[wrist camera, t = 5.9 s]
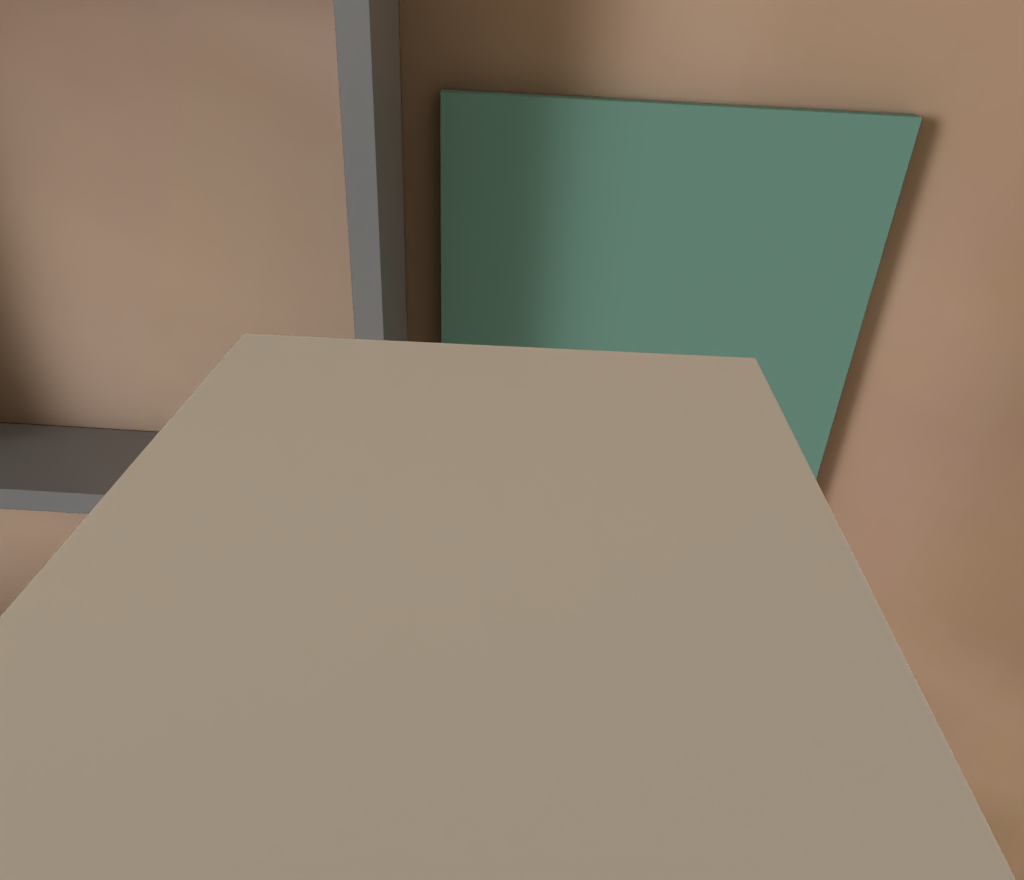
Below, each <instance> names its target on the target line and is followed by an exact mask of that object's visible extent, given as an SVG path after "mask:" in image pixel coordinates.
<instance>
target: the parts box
mask: <svg viewBox="0 0 1024 880" xmlns="http://www.w3.org/2000/svg"><path fill="white" fill-rule="evenodd" d="M0 880H1016V879H1015V877H1014V875H1013V873H1012V871H1011V869H1010V867H1009V865H1008V863H1007V861H1006V859H1005V857H1004V855H1003V853H1002V851H1001V849H1000V847H999V845H998V843H997V841H996V839H995V837H994V835H993V833H992V831H991V829H990V827H989V825H988V823H987V821H986V819H985V817H984V815H983V813H982V811H981V809H980V807H979V805H978V803H977V801H976V799H975V797H974V795H973V793H972V791H971V789H970V787H969V785H968V783H967V781H966V779H965V777H964V775H963V773H962V771H961V769H960V767H959V765H958V763H957V761H956V759H955V757H954V755H953V753H952V751H951V749H950V747H949V745H948V743H947V741H946V739H945V737H944V735H943V733H942V731H941V729H940V727H939V725H938V723H937V721H936V719H935V717H934V715H933V713H932V711H931V709H930V707H929V705H928V703H927V701H926V699H925V697H924V695H923V693H922V691H921V689H920V687H919V685H918V683H917V681H916V679H915V677H914V675H913V673H912V671H911V669H910V667H909V665H908V663H907V661H906V659H905V657H904V655H903V653H902V651H901V649H900V647H899V645H898V643H897V641H896V639H895V637H894V635H893V633H892V631H891V629H890V627H889V625H888V623H887V621H886V619H885V617H884V615H883V613H882V611H881V609H880V607H879V605H878V603H877V601H876V599H875V597H874V595H873V593H872V591H871V589H870V587H869V585H868V583H867V581H866V579H865V577H864V575H863V573H862V571H861V569H860V567H859V565H858V563H857V561H856V559H855V557H854V555H853V553H852V551H851V549H850V547H849V545H848V543H847V541H846V539H845V537H844V535H843V533H842V531H841V529H840V527H839V525H838V523H837V521H836V519H835V517H834V515H833V513H832V511H831V509H830V507H829V505H828V503H827V501H826V499H825V497H824V495H823V493H822V491H821V489H820V487H819V485H818V483H817V481H816V479H815V477H814V475H813V473H812V471H811V469H810V467H809V465H808V463H807V461H806V459H805V457H804V455H803V453H802V451H801V449H800V447H799V445H798V443H797V441H796V439H795V437H794V435H793V433H792V431H791V429H790V427H789V425H788V423H787V421H786V419H785V416H784V414H783V412H782V410H781V408H780V406H779V404H778V402H777V400H776V398H775V396H774V394H773V392H772V390H771V388H770V386H769V384H768V382H767V380H766V378H765V376H764V374H763V372H762V370H761V368H760V366H759V364H758V362H757V360H756V358H745V357H724V356H703V355H682V354H661V353H640V352H619V351H598V350H577V349H556V348H535V347H514V346H493V345H472V344H451V343H430V342H409V341H388V340H367V339H346V338H325V337H304V336H283V335H262V334H243V335H242V336H241V337H240V338H239V339H238V341H237V342H236V343H235V344H234V345H233V346H232V348H231V349H230V350H229V351H228V352H227V353H226V355H225V356H224V357H223V358H222V359H221V360H220V362H219V363H218V364H217V365H216V366H215V367H214V369H213V370H212V371H211V372H210V373H209V374H208V376H207V377H206V378H205V379H204V380H203V381H202V383H201V384H200V385H199V386H198V387H197V388H196V390H195V391H194V392H193V393H192V394H191V395H190V396H189V398H188V399H187V400H186V401H185V402H184V403H183V405H182V406H181V407H180V408H179V409H178V410H177V412H176V413H175V414H174V415H173V416H172V417H171V419H170V420H169V421H168V422H167V423H166V424H165V426H164V427H163V428H162V429H161V430H160V431H159V433H158V434H157V435H156V436H155V437H154V438H153V440H152V441H151V442H150V443H149V444H148V445H147V447H146V448H145V449H144V450H143V451H142V452H141V454H140V455H139V456H138V457H137V458H136V459H135V460H134V462H133V463H132V464H131V465H130V466H129V467H128V469H127V470H126V471H125V472H124V473H123V474H122V476H121V477H120V478H119V479H118V480H117V481H116V483H115V484H114V485H113V486H112V487H111V488H110V490H109V491H108V492H107V493H106V494H105V495H104V497H103V498H102V499H101V500H100V501H99V502H98V504H97V505H96V506H95V507H94V508H93V509H92V511H91V512H90V513H89V514H88V515H87V516H86V518H85V519H84V520H83V521H82V522H81V523H80V525H79V526H78V527H77V528H76V529H75V530H74V531H73V533H72V534H71V535H70V536H69V537H68V538H67V540H66V541H65V542H64V543H63V544H62V545H61V547H60V548H59V549H58V550H57V551H56V552H55V554H54V555H53V556H52V557H51V558H50V559H49V561H48V562H47V563H46V564H45V565H44V566H43V568H42V569H41V570H40V571H39V572H38V573H37V575H36V576H35V577H34V578H33V579H32V580H31V582H30V583H29V584H28V585H27V586H26V587H25V589H24V590H23V591H22V592H21V593H20V594H19V595H18V597H17V598H16V599H15V600H14V601H13V602H12V604H11V605H10V606H9V607H8V608H7V609H6V611H5V612H4V613H3V614H2V615H1V616H0Z"/></svg>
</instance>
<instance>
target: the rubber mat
mask: <svg viewBox="0 0 1024 880" xmlns="http://www.w3.org/2000/svg"><path fill="white" fill-rule="evenodd" d="M921 120H922V117H920V116H917V115H915V114H898V113H879V112H860V111H841V110H823V109H804V108H785V107H766V106H747V105H728V104H710V103H691V102H672V101H653V100H634V99H615V98H597V97H578V96H559V95H540V94H521V93H502V92H484V91H465V90H446V89H443V90H442V91H441V343H451V344H472V345H493V346H514V347H535V348H556V349H577V350H598V351H619V352H640V353H661V354H682V355H703V356H724V357H745V358H756V360H757V362H758V364H759V366H760V368H761V370H762V372H763V374H764V376H765V378H766V380H767V382H768V384H769V386H770V388H771V390H772V392H773V394H774V396H775V398H776V400H777V402H778V404H779V406H780V408H781V410H782V412H783V414H784V416H785V419H786V421H787V423H788V425H789V427H790V429H791V431H792V433H793V435H794V437H795V439H796V441H797V443H798V445H799V447H800V449H801V451H802V453H803V455H804V457H805V459H806V461H807V463H808V465H809V467H810V469H811V471H812V473H813V475H814V477H815V479H816V478H817V475H818V471H819V468H820V465H821V461H822V458H823V454H824V451H825V448H826V444H827V441H828V437H829V434H830V431H831V427H832V424H833V420H834V417H835V413H836V410H837V407H838V403H839V400H840V396H841V393H842V390H843V386H844V383H845V379H846V376H847V373H848V369H849V366H850V362H851V359H852V355H853V352H854V349H855V345H856V342H857V338H858V335H859V332H860V328H861V325H862V321H863V318H864V315H865V311H866V308H867V304H868V301H869V298H870V294H871V291H872V287H873V284H874V280H875V277H876V274H877V270H878V267H879V263H880V260H881V257H882V253H883V250H884V246H885V243H886V240H887V236H888V233H889V229H890V226H891V222H892V219H893V216H894V212H895V209H896V205H897V202H898V199H899V195H900V192H901V188H902V185H903V182H904V178H905V175H906V171H907V168H908V164H909V161H910V158H911V154H912V151H913V147H914V144H915V141H916V137H917V134H918V130H919V127H920V124H921Z"/></svg>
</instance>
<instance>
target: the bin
mask: <svg viewBox="0 0 1024 880" xmlns="http://www.w3.org/2000/svg"><path fill="white" fill-rule="evenodd" d="M334 15H335V30H336V46H337V62H338V77H339V93H340V108H341V124H342V140H343V155H344V171H345V186H346V202H347V218H348V233H349V249H350V265H351V280H352V296H353V311H354V327H355V339H367V340H388V341H407V305H406V267H405V230H404V193H403V156H402V119H401V82H400V45H399V8H398V0H334ZM158 433H159V432H147V431H130V430H113V429H96V428H79V427H62V426H45V425H28V424H11V423H0V509H16V510H33V511H49V512H66V513H83V514H89V513H90V512H91V511H92V509H93V508H94V507H95V506H96V505H97V504H98V502H99V501H100V500H101V499H102V498H103V497H104V495H105V494H106V493H107V492H108V491H109V490H110V488H111V487H112V486H113V485H114V484H115V483H116V481H117V480H118V479H119V478H120V477H121V476H122V474H123V473H124V472H125V471H126V470H127V469H128V467H129V466H130V465H131V464H132V463H133V462H134V460H135V459H136V458H137V457H138V456H139V455H140V454H141V452H142V451H143V450H144V449H145V448H146V447H147V445H148V444H149V443H150V442H151V441H152V440H153V438H154V437H155V436H156V435H157V434H158Z"/></svg>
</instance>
